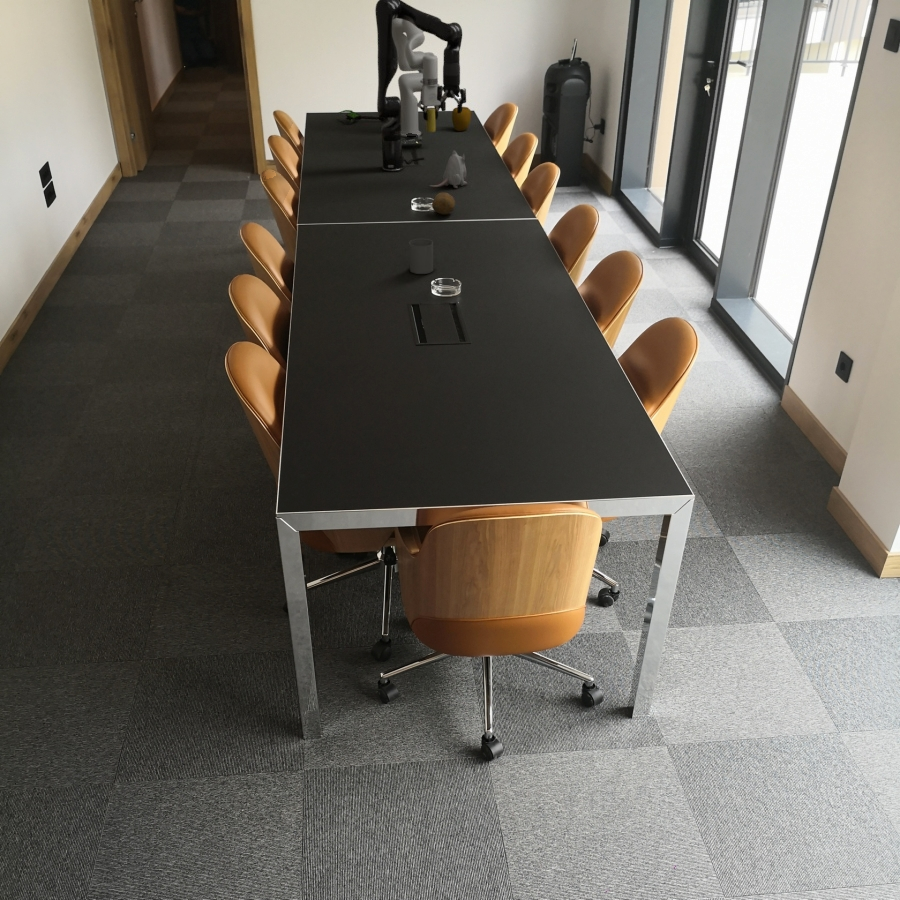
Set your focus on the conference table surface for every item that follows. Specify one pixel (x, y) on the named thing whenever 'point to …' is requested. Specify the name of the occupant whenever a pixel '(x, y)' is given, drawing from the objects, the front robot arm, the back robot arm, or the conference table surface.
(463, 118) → the yellow rounded blob
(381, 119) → the scepter
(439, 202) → the potato
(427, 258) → the cup
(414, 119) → the back robot arm
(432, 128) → the can
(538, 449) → the conference table surface
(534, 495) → the conference table surface
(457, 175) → the toy
